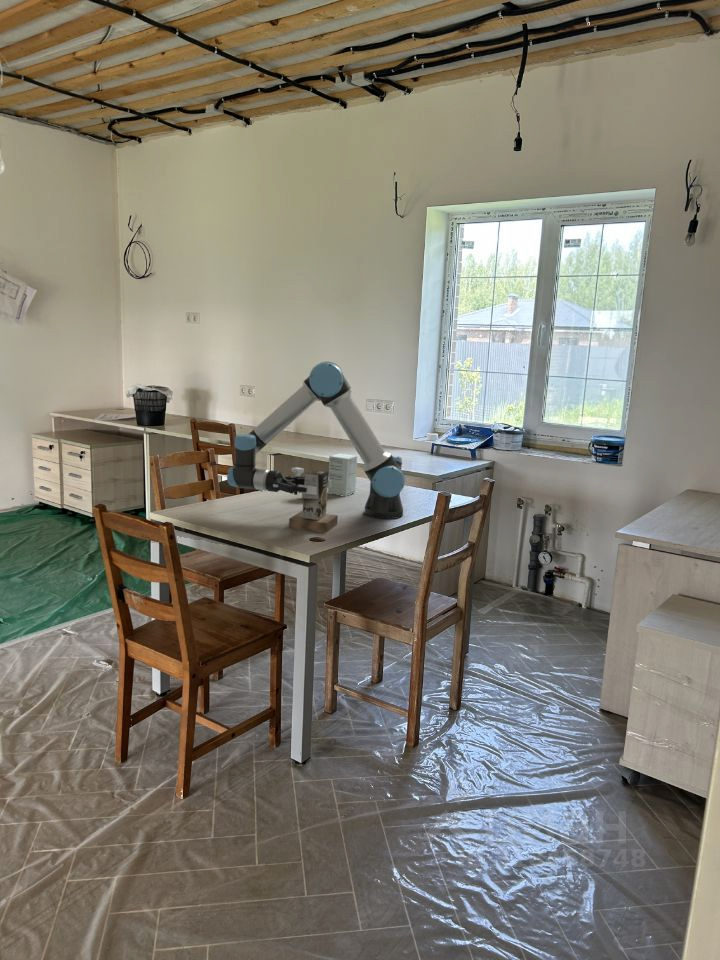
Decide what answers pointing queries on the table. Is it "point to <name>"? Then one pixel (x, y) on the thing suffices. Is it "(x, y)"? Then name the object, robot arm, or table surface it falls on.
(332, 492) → the supplement box
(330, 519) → the walnut riser block
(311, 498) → the coffee box
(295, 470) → the stamp
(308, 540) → the table surface
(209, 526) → the table surface
